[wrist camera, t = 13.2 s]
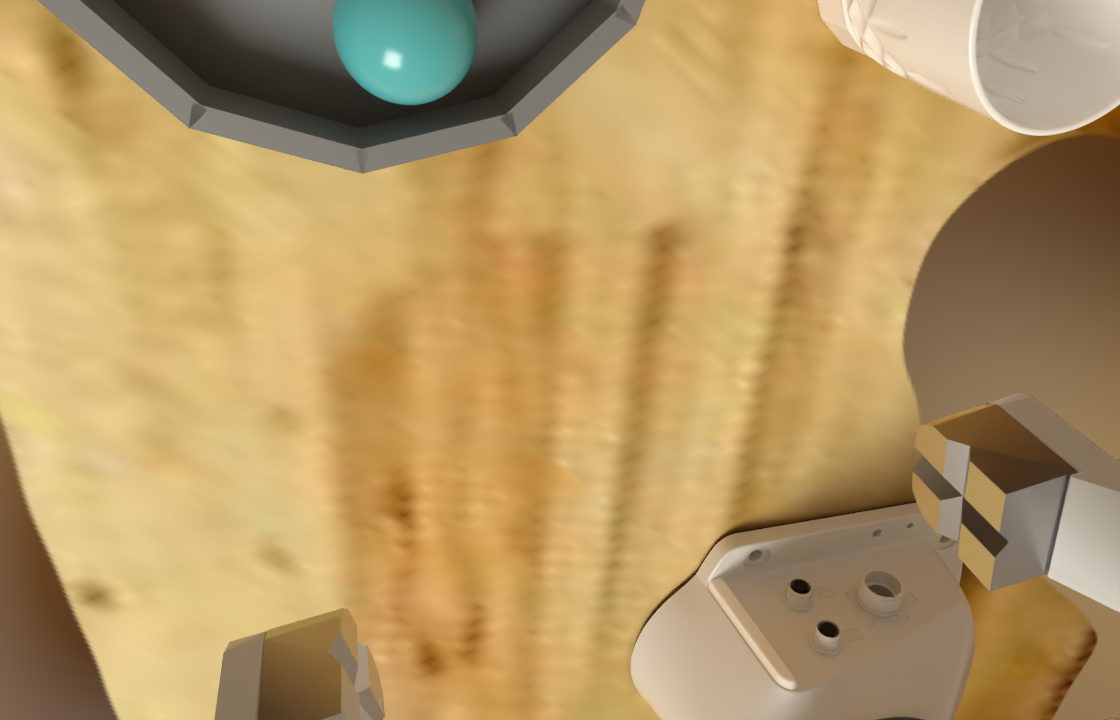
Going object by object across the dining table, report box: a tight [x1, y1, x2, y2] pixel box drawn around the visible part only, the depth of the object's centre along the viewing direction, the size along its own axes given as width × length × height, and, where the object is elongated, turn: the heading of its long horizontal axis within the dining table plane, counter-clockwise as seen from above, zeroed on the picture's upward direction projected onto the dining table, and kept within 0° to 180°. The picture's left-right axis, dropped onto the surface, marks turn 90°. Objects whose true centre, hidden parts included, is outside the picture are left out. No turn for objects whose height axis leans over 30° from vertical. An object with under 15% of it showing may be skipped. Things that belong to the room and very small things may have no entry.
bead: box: [332, 0, 478, 105], centre depth 26 cm, size 4×4×4 cm
